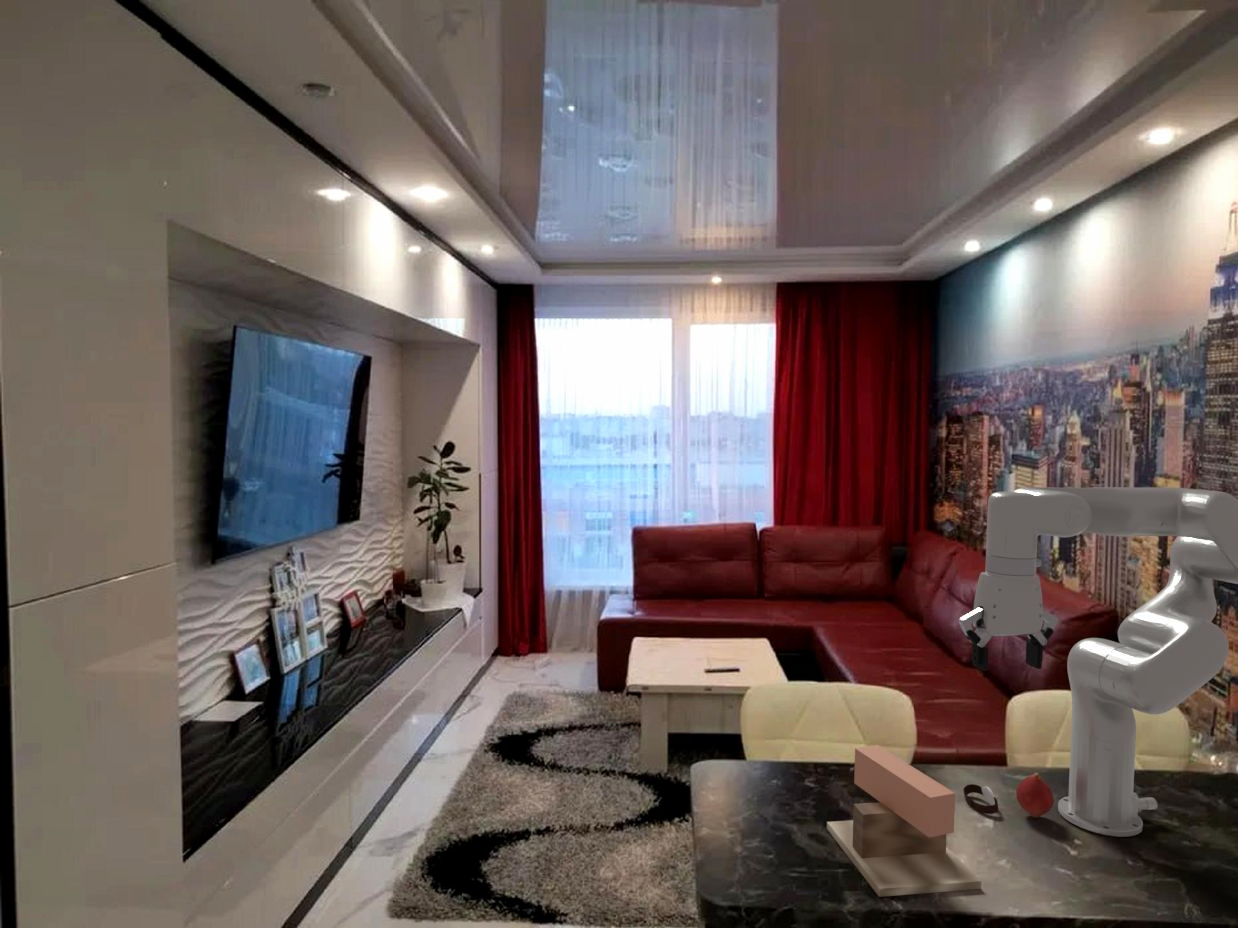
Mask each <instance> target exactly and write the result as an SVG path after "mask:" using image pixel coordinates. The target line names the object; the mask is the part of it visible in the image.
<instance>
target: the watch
mask: <svg viewBox="0 0 1238 928" xmlns="http://www.w3.org/2000/svg"><path fill="white" fill-rule="evenodd" d="M962 792H963V795H964V800H965V801H967V802H966V803H967V805H968V806H969V807H971V808H973V809H974V808H975V810H976V812H977V811H978V812H980V813H982V814H987V815H993V814H996V813H998V811H999V804H998V803H999V802H998V799H997V798H996V795H995V793H994V792H993V791H992V789H991V788H990V787H989V786H986V785H985V786H983V787H982V786H980V785H977V784H974V783H973V784H966V785H965V786H964V787H963V791H962ZM974 793H975V794H979V795H981V796H983V797H984V798H985V801H986V802H987V803H988V805H984V804H981V803H978V802H976V801H975V800H973V799H972V798H971V797H969V796H968V795H970V794H974Z"/></svg>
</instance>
